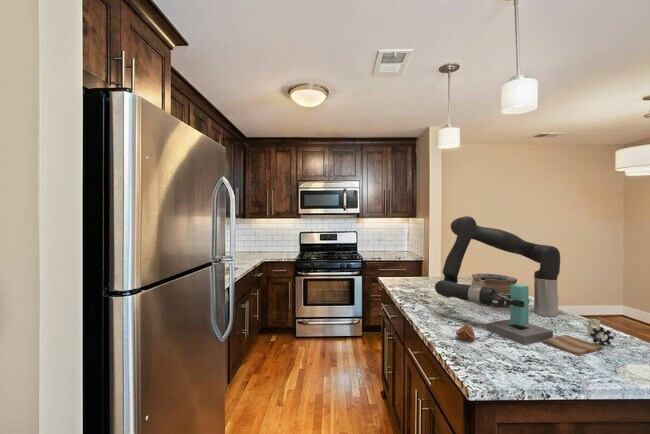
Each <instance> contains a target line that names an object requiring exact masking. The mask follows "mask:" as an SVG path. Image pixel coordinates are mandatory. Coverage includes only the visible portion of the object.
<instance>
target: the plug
mask: <svg viewBox="0 0 650 434" xmlns="http://www.w3.org/2000/svg"><path fill="white" fill-rule="evenodd" d="M529 293H530V291H529V285H526V284H525V285H524V284H519V283H516V284H514V285H510V299H513V300H518V301H523V302H524V304H525V306H524V307H518V306H509V309H510V311H509V313H510V317H509V319H510V322H511V323H514V324H517V325H520V326H523V325H528V324H530V323H529V322H530V321H529V315H530V314H529V304H530V299H529Z"/></svg>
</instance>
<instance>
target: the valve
mask: <svg viewBox="0 0 650 434" xmlns="http://www.w3.org/2000/svg"><path fill="white" fill-rule="evenodd" d="M586 328H587V336H588V337H590V338H592V342H593V343H594V344H595V343H596V344H597V343H598V342H599V344H598V345H599V346H602V347H603V346H604V345H605V343H606V344H607V345H611V344H612V342H611V341H610V340H612V341H613V340H614V339H615V338H614V336H612V335H610V334H612V332H611V330H609V329H607V330H605V328H604V327H603V326H601V320H599V319H597V318H587V325H586ZM605 336H607V338H606V337H605ZM605 338H606V339H605ZM603 339H605V340H603Z"/></svg>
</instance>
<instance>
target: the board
mask: <svg viewBox="0 0 650 434" xmlns="http://www.w3.org/2000/svg"><path fill="white" fill-rule="evenodd" d="M541 344H544V345H546V346H550V347H552V348H556V349H558V350H561V351H564V352H567V353H568V354H569V353H570V354H573V355H575V356H577V357H579V356H583V355H586V354H590V353H594V352H598V351H601V350H603V346H602V345H600V344H597V343H596V344H595V343H594V342H589V341H586V340H583V339H579V338H577V337H573V336H570V335H567V334H564V335H560V336H559V335H558V336H555V337H554V336H553V338H549V339H544V340H542V341H541Z"/></svg>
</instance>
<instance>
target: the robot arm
mask: <svg viewBox="0 0 650 434" xmlns="http://www.w3.org/2000/svg"><path fill="white" fill-rule="evenodd" d="M450 230H451V232H452V233H453V234H454V235H455V236H456V239H455V241H454V243H453V246H452V247H451V249H450V251H449V252H448V255H447V256H446V258H445V262H444V266H443V268H442V275H443V280H441V279H440V280H439V281H437V282H436V283H435V285H434V290H435V292H436V293H437V294H438V295H440V296H442V297H445V298H447V299H449V298H454V299H455V298H456V299H458V300H461V301H465V302H471V303H474V304H479V305H483V306H489V307H493V306H502V307H509V308H510V306H518V307H524V306H525V304H524V302H523V301H518V300H513V299H510V294H509V293H499V294H497V293H496V291H495V289H494V288H489V287H482V286H472V284H466V283H465V284H464V283H458V282H459V281H458V276H459V275H460V274H459V273H460V270H461V266H462V262H463V260H464V257H465V254H466V252H467V249H468V247H469V245H470V242H471V241H472V240H475V241H477V242H479V243H483V244H485V245H487V246H489V247H492V248H495V249H498V250H501V251H504V252H507V253H511V254H515V255H520V256H523V257H525V258H527V259H530V260H532V262H535V263H538V264H539V269H538V270H536V271H534V274H533V281H534V282H533V287H534V290H533V294H534V295H533V296H534V297H533V301H534V302H533V303H534V304H533V312H534V313H535V314H536V315H539V316H544V317H552V318H553V317H554V318H555V317H558V315H559V294H558V277H559V274H560V269H561V253H560V250H559V249H558V248H557V247H556V246H553V245H547V244H538V243H533V242H530V241H526V240H524V239H523V238H521V237H519V236H518V235H516V234H514V233H511V232H509V231H506V230H503V229H498V228H494V227H487V226H486V227H485V226H480V225H478V224H477V222H476V220H475V219H474V218H473V217H472V216H469V215H468V216H462V217H458V218H455V219H454V220H453V221H452V222H451V223H450Z"/></svg>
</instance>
